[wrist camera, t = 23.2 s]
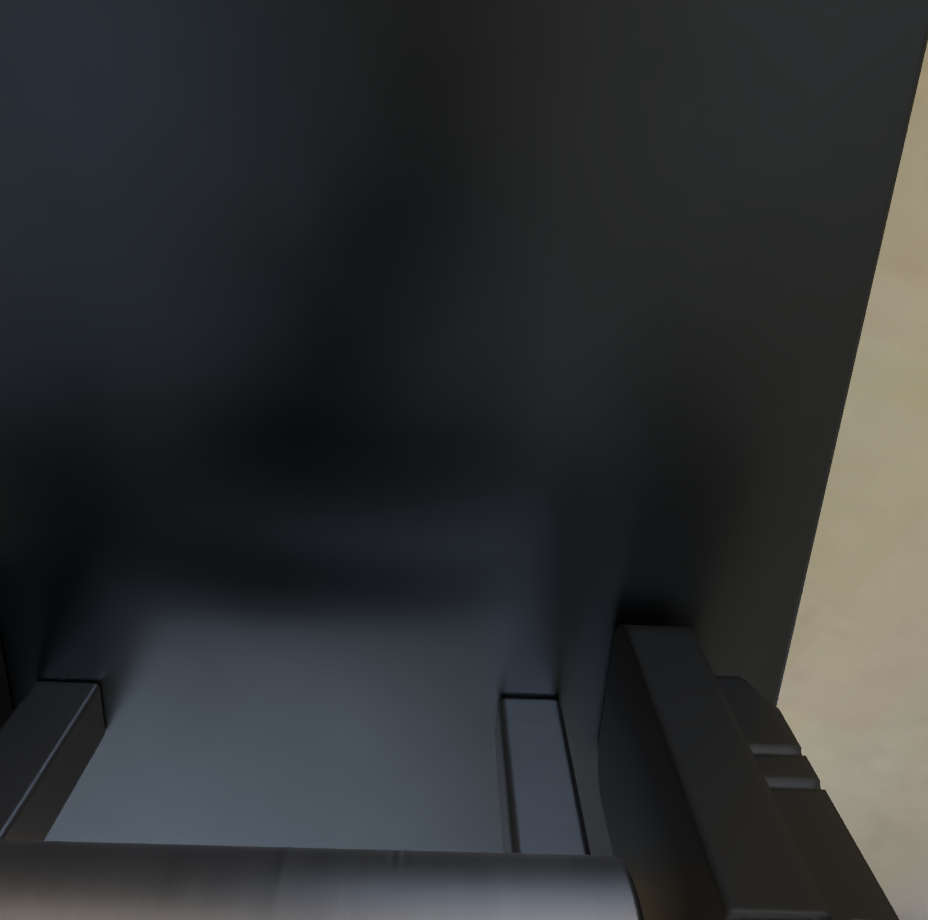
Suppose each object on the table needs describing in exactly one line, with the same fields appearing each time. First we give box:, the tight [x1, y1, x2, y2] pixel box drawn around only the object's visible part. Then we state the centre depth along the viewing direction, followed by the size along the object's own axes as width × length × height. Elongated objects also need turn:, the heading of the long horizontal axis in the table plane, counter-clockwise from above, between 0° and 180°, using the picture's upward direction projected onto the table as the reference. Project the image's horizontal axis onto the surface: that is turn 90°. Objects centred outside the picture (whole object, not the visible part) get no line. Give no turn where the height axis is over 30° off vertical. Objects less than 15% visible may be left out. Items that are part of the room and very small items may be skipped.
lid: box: [0, 0, 928, 920], centre depth 6 cm, size 14×11×5 cm
